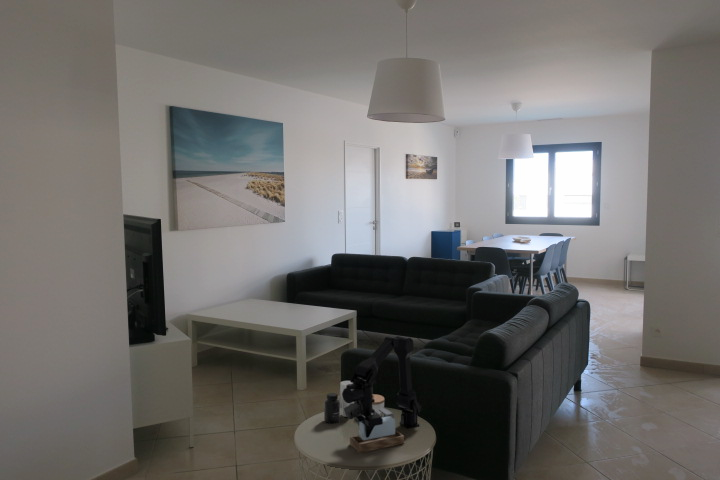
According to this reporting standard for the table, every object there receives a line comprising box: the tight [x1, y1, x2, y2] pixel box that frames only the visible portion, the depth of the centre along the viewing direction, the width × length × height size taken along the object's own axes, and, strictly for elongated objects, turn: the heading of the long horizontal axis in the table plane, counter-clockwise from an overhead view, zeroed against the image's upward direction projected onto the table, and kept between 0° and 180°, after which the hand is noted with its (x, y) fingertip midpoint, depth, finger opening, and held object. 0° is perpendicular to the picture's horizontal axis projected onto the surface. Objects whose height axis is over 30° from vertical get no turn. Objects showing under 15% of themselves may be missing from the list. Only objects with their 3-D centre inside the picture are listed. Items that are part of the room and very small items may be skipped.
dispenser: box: [373, 407, 395, 419], centre depth 230 cm, size 6×7×8 cm
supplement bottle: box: [323, 392, 341, 424], centre depth 239 cm, size 7×7×12 cm
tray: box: [349, 429, 405, 454], centre depth 216 cm, size 20×8×3 cm, turn 117°
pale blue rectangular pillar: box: [358, 416, 396, 440], centre depth 216 cm, size 14×4×6 cm, turn 115°
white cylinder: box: [339, 380, 355, 418], centre depth 246 cm, size 7×7×15 cm
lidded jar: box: [371, 393, 385, 415], centre depth 247 cm, size 11×11×9 cm
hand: (365, 435), depth 214 cm, fingers closed on pale blue rectangular pillar, 4 cm apart
